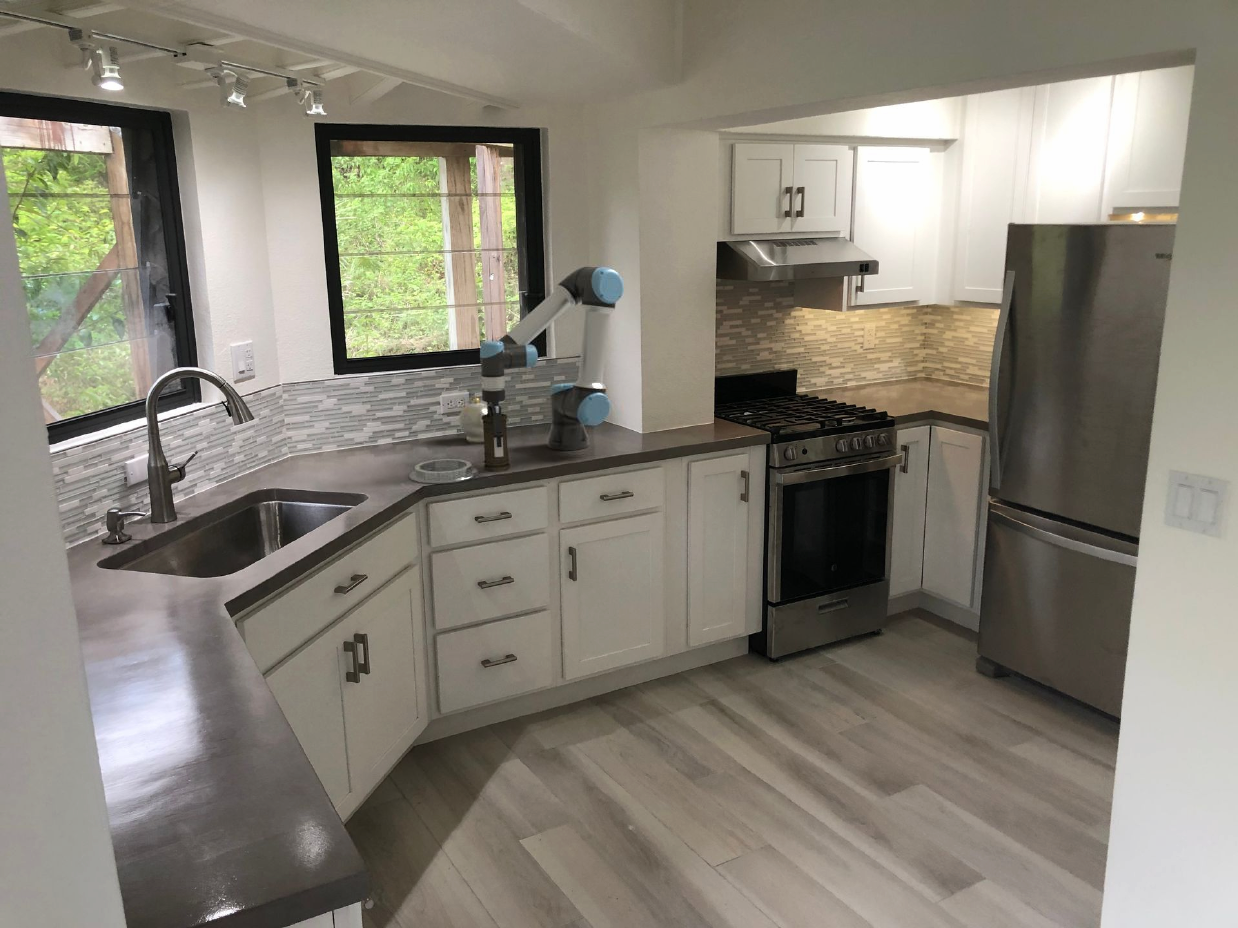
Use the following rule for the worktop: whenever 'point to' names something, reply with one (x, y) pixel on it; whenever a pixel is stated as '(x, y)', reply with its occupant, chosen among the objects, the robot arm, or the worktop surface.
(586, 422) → the robot arm
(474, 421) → the teapot
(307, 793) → the worktop surface
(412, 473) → the flange
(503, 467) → the container
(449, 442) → the worktop surface
